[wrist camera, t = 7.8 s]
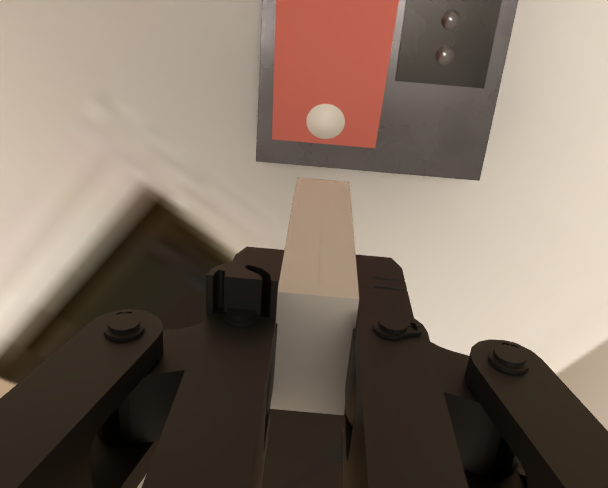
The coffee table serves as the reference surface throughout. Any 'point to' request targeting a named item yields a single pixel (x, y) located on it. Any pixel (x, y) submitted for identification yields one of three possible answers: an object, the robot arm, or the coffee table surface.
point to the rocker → (331, 69)
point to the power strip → (414, 92)
